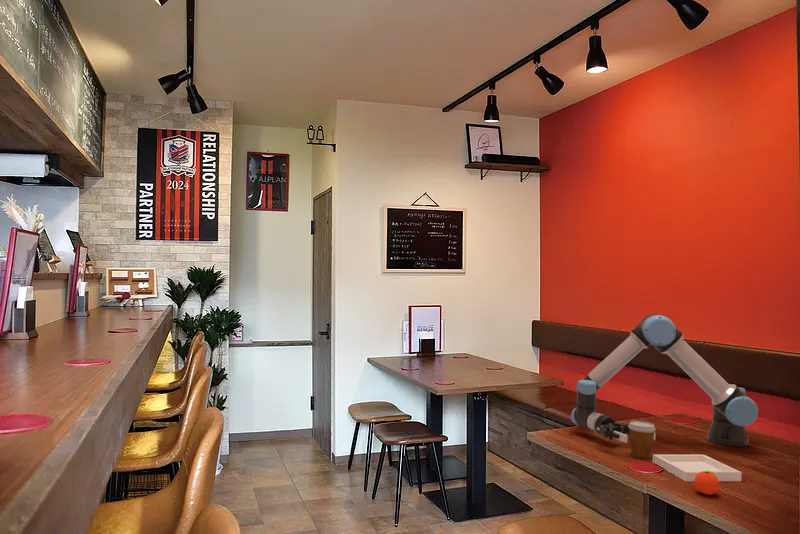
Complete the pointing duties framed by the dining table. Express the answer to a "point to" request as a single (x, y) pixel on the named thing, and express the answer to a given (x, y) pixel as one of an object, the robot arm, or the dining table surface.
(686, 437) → the dining table surface
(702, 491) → the clementine
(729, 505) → the dining table surface
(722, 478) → the cream tray
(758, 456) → the dining table surface
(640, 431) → the disposable coffee cup
